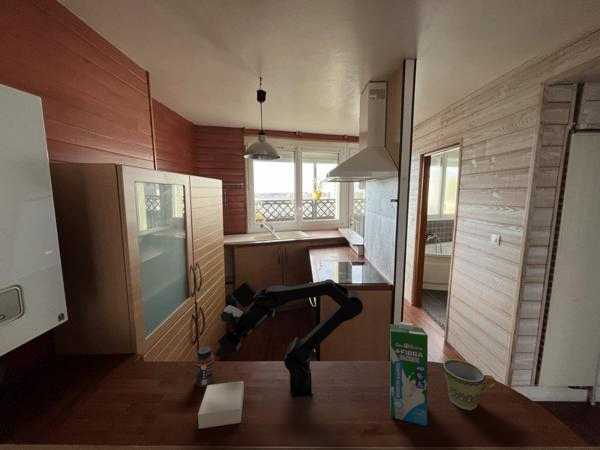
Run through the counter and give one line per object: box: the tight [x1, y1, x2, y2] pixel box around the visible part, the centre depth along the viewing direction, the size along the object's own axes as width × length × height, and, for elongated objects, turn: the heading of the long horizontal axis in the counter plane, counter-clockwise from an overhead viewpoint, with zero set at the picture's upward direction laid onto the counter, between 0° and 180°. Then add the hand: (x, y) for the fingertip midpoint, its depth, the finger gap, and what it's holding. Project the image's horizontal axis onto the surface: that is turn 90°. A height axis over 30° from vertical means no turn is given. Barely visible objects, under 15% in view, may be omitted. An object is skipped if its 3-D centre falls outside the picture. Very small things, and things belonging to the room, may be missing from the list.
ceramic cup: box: [442, 358, 497, 411], centre depth 71 cm, size 13×10×10 cm
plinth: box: [197, 380, 245, 429], centre depth 71 cm, size 11×11×4 cm
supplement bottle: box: [195, 346, 216, 388], centre depth 82 cm, size 6×6×11 cm
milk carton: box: [389, 321, 429, 427], centre depth 69 cm, size 9×9×25 cm
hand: (222, 347), depth 81 cm, fingers open, 9 cm apart
